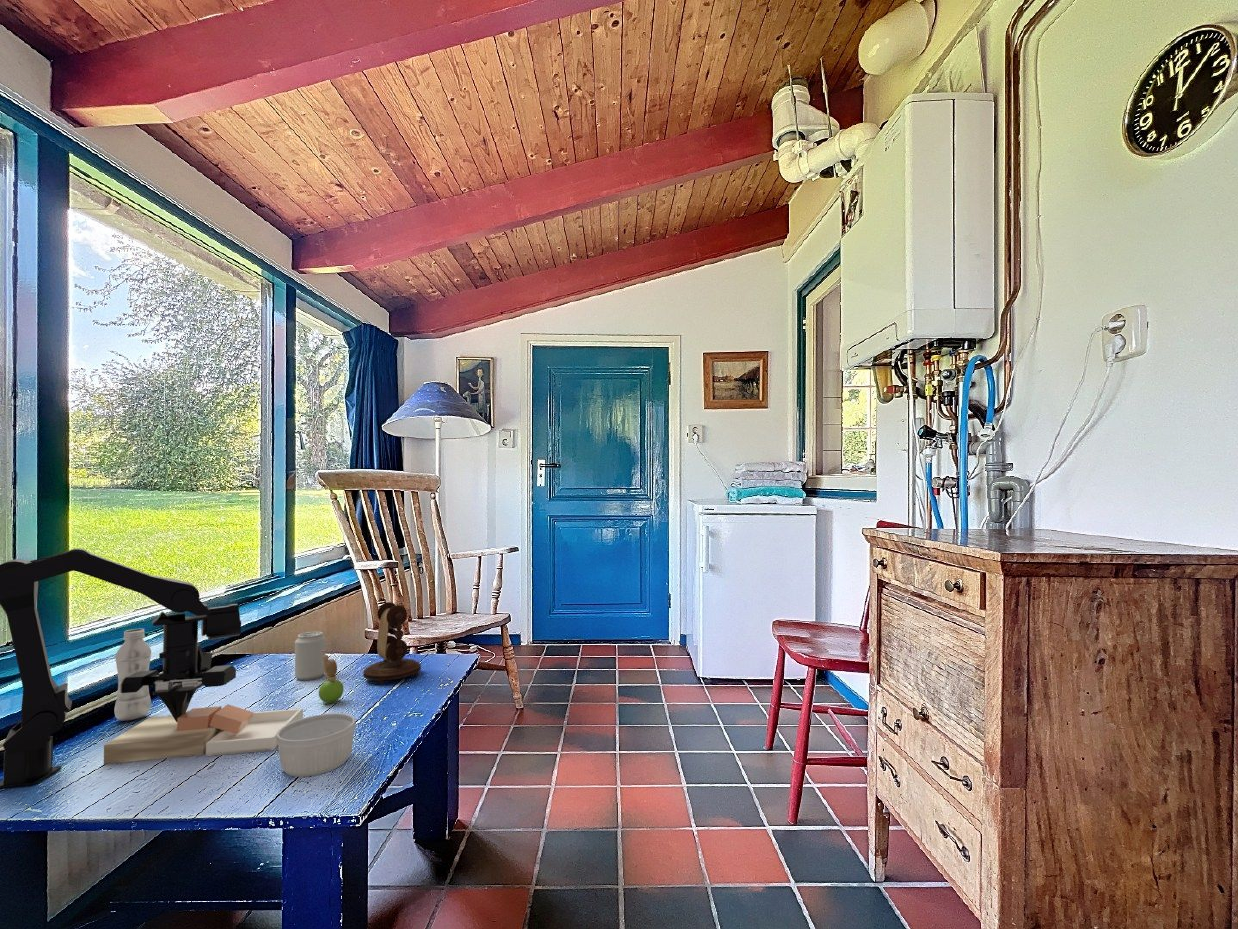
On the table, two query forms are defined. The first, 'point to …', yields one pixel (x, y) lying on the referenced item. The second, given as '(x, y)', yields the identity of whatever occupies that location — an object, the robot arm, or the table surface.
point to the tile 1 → (196, 718)
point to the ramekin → (315, 744)
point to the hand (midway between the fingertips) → (179, 721)
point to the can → (309, 655)
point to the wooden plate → (157, 741)
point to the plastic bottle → (128, 662)
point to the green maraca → (330, 682)
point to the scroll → (391, 647)
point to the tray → (253, 733)
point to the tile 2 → (231, 719)
